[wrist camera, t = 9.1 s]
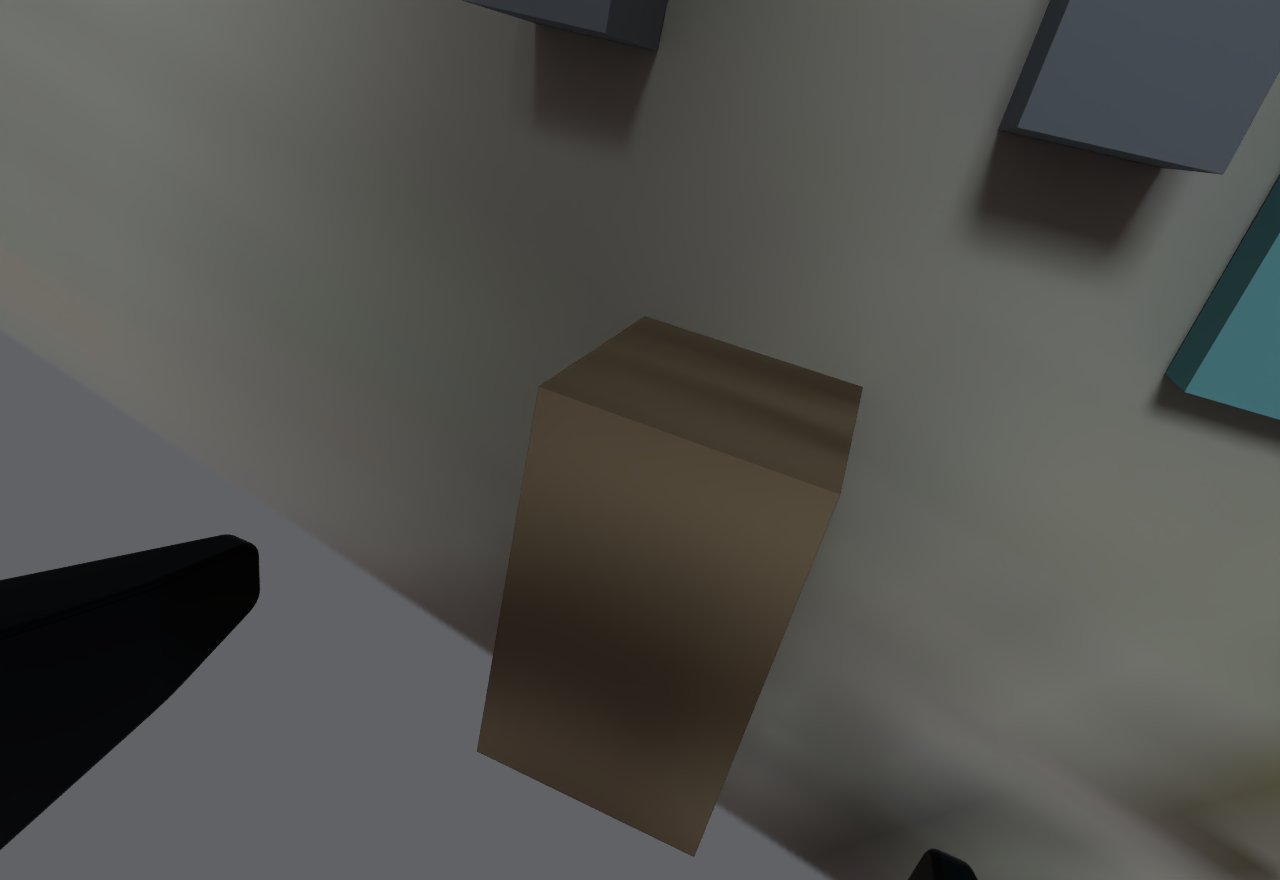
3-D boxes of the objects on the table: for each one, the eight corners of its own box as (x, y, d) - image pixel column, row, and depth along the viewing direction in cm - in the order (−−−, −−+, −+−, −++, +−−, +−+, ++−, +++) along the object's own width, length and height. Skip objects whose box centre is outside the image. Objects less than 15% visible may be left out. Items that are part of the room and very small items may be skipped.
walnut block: (646, 315, 15) (538, 386, 11) (863, 384, 14) (840, 494, 10) (578, 608, 19) (476, 751, 14) (748, 680, 18) (693, 856, 13)
